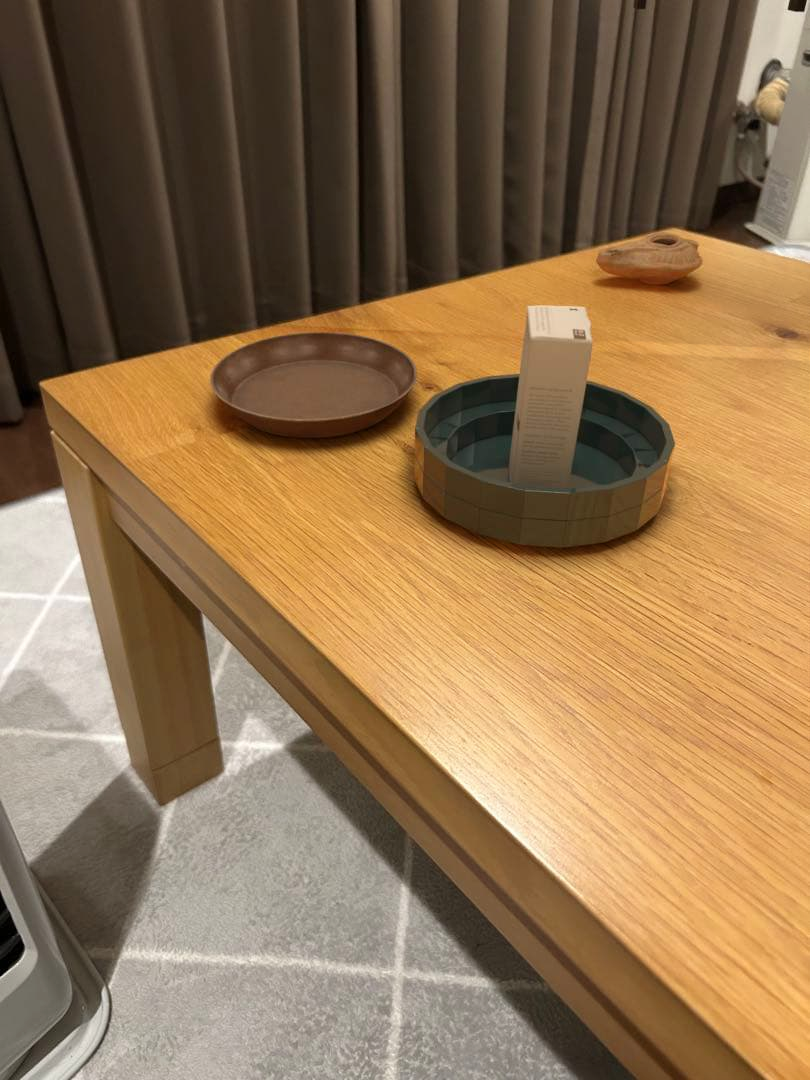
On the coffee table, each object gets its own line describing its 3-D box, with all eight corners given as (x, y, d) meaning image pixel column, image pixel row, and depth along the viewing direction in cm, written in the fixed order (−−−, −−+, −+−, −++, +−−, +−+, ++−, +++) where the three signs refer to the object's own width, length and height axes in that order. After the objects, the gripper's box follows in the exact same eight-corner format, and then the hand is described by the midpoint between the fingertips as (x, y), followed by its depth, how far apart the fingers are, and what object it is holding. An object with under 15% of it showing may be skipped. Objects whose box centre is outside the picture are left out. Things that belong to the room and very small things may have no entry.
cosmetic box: (508, 454, 67) (522, 301, 60) (566, 457, 67) (587, 304, 60) (509, 496, 62) (524, 334, 55) (572, 499, 62) (595, 337, 55)
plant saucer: (359, 469, 67) (358, 434, 65) (171, 423, 73) (166, 390, 71) (447, 383, 80) (448, 351, 78) (282, 350, 86) (280, 320, 84)
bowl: (644, 435, 72) (655, 379, 69) (679, 565, 57) (694, 500, 54) (425, 423, 73) (426, 368, 70) (403, 547, 58) (403, 483, 55)
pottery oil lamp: (580, 269, 106) (600, 212, 105) (665, 302, 109) (686, 246, 108) (606, 265, 98) (629, 202, 97) (698, 300, 101) (721, 239, 99)
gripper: (613, -334, 63) (577, 9, 75) (974, -339, 61) (877, 15, 73) (604, -309, 69) (572, 4, 81) (931, -313, 67) (848, 9, 79)
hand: (716, 10), depth 77 cm, fingers open, 13 cm apart
